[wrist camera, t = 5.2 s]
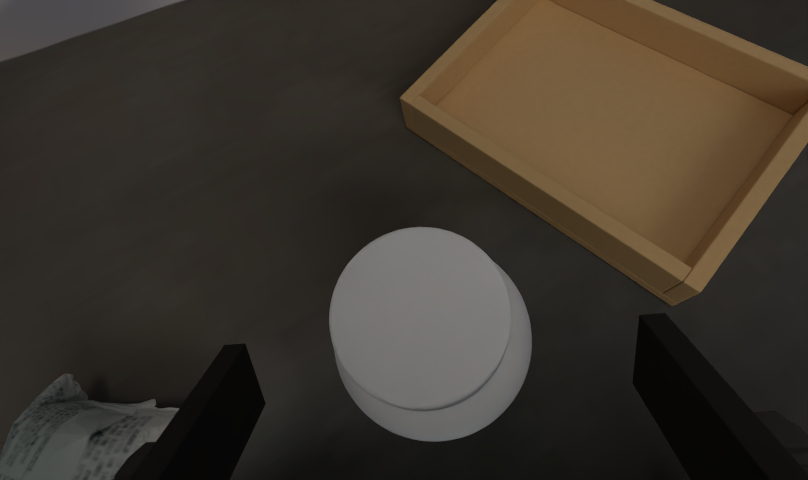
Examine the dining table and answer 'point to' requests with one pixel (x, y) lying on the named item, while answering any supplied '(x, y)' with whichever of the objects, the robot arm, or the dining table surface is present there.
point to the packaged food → (77, 435)
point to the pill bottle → (429, 334)
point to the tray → (619, 128)
